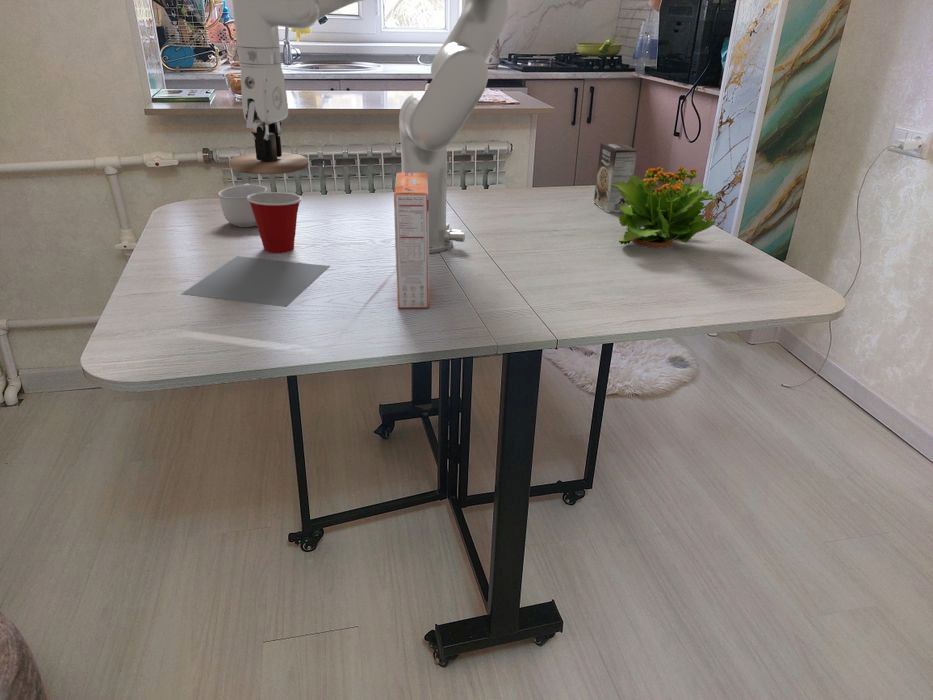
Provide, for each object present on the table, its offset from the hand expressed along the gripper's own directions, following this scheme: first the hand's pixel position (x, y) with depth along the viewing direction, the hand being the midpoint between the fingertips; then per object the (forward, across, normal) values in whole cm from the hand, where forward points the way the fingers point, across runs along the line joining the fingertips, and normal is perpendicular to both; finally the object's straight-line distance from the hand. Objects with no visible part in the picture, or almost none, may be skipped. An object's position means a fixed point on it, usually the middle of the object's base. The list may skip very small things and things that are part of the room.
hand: (269, 157), depth 133 cm
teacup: (+20, +17, +16) cm, 31 cm away
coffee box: (+19, +56, -68) cm, 90 cm away
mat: (+20, -17, -4) cm, 26 cm away
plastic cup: (+20, 0, 0) cm, 20 cm away
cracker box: (+20, -14, -33) cm, 41 cm away
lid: (+2, 0, 0) cm, 2 cm away
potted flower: (+19, +31, -78) cm, 86 cm away
